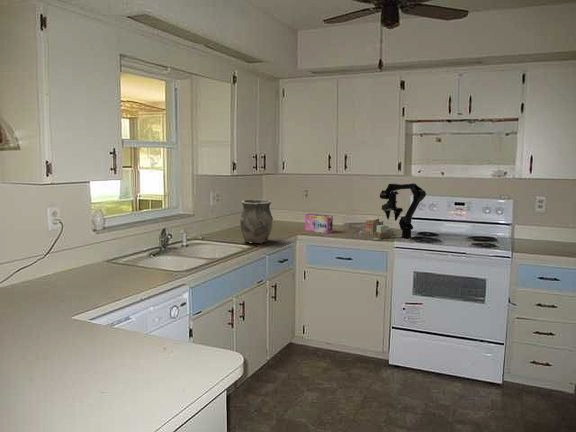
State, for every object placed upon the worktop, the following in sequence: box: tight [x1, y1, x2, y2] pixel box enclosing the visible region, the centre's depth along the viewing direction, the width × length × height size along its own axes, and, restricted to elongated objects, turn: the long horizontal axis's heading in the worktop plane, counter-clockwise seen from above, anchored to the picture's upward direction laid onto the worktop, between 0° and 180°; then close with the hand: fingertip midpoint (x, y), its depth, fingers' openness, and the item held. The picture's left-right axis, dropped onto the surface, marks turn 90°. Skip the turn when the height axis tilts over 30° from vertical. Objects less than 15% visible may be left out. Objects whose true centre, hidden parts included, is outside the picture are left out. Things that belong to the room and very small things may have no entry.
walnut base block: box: [373, 232, 390, 239], centre depth 359 cm, size 8×8×4 cm
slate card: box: [369, 237, 384, 242], centre depth 350 cm, size 7×7×1 cm
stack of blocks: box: [365, 217, 384, 236], centre depth 377 cm, size 21×6×12 cm, turn 147°
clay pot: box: [239, 198, 274, 244], centre depth 338 cm, size 22×23×30 cm
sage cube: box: [376, 224, 387, 233], centre depth 358 cm, size 5×5×5 cm
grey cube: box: [386, 227, 392, 236], centre depth 370 cm, size 5×5×5 cm
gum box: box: [304, 213, 334, 234], centre depth 385 cm, size 24×8×14 cm, turn 51°
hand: (391, 220), depth 367 cm, fingers open, 9 cm apart
